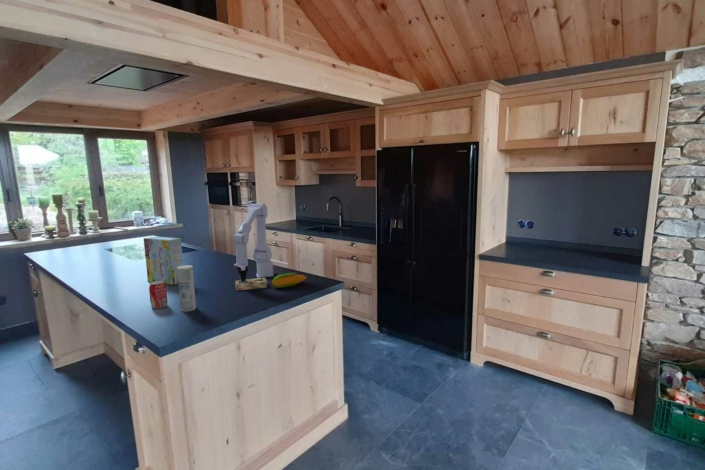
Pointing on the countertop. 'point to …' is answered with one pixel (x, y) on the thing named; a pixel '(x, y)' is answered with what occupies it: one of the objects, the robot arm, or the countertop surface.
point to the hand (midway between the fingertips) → (243, 280)
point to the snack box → (163, 259)
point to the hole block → (251, 284)
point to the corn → (287, 280)
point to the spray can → (186, 287)
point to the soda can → (158, 294)
